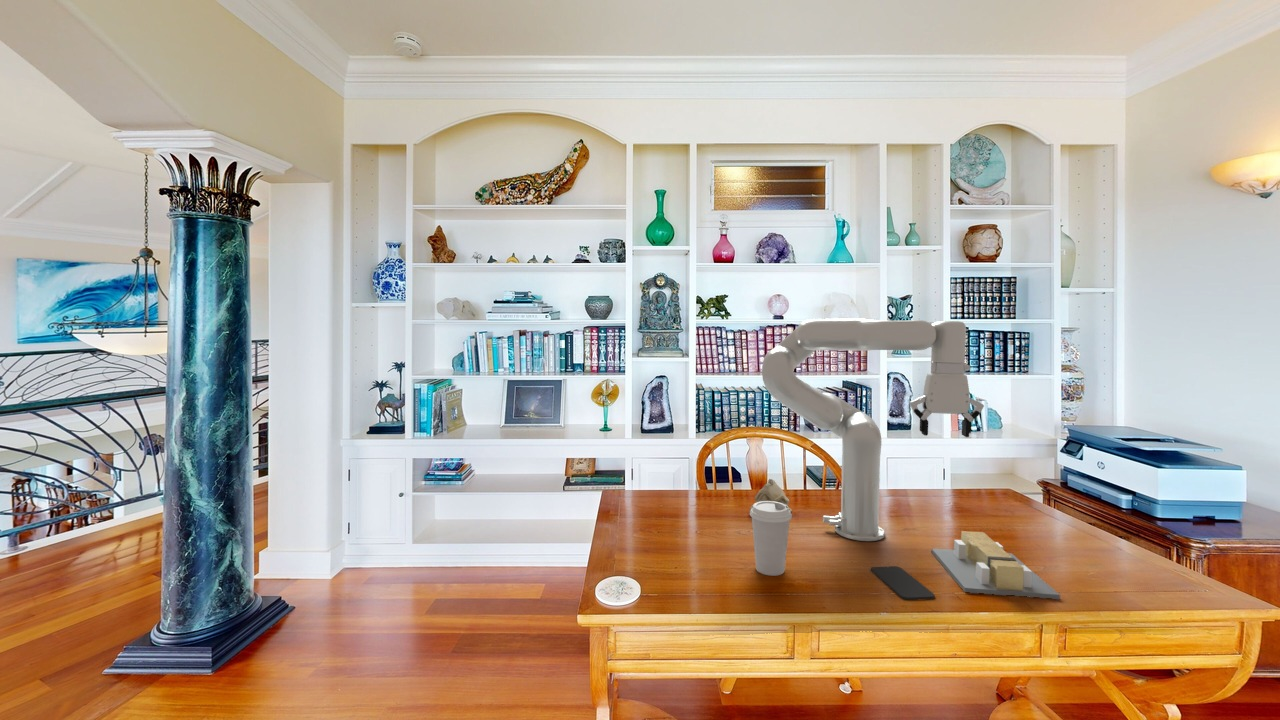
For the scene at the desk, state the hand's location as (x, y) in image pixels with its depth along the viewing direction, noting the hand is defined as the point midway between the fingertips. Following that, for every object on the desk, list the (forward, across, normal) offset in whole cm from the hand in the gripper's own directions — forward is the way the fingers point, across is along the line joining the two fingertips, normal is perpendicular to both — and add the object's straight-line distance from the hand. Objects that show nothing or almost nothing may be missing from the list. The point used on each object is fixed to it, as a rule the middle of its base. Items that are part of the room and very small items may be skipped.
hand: (944, 435), depth 144 cm
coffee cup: (+29, +44, +26) cm, 58 cm away
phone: (+29, +16, +27) cm, 43 cm away
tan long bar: (+27, -5, +18) cm, 33 cm away
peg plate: (+28, -5, +18) cm, 34 cm away
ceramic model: (+29, +43, -15) cm, 54 cm away
